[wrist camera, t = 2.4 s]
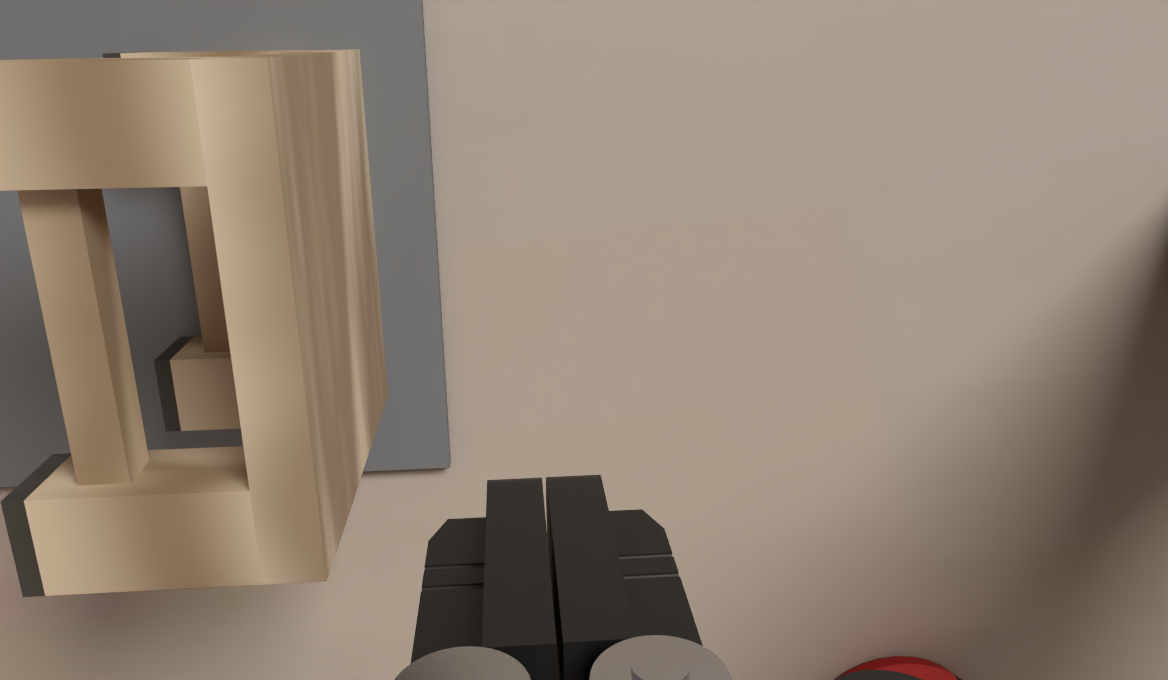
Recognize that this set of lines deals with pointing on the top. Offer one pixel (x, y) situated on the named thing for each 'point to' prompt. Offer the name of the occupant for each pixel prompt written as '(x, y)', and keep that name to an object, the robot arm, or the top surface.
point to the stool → (226, 311)
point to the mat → (158, 232)
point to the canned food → (908, 668)
